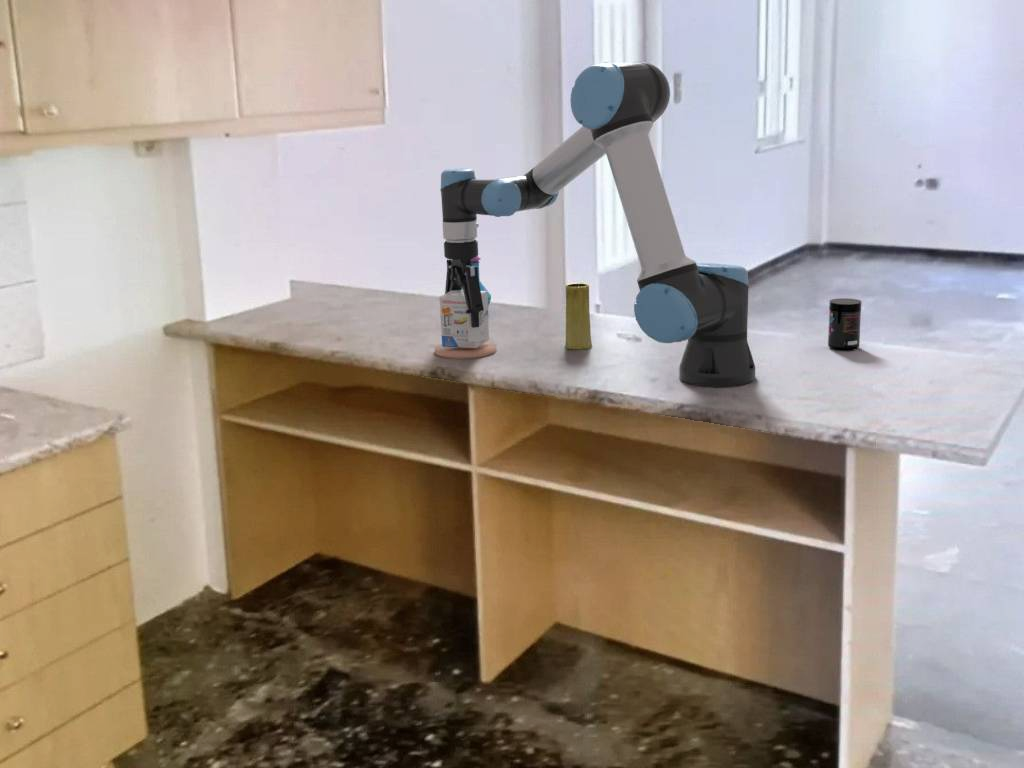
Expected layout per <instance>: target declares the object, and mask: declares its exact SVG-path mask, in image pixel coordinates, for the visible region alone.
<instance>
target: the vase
mask: <svg viewBox="0 0 1024 768" xmlns="http://www.w3.org/2000/svg"><path fill="white" fill-rule="evenodd" d="M591 334H592V333H591V316H590V285H589V284H588V283H584V282H577V283H576V282H574V283H573V282H572V283H567V284H566V285H565V345H564V347H565V349H567V350H573V351H574V350H575V351H582V350H588V349H591V348H592V347H593V343H592V335H591Z"/></svg>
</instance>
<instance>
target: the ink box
mask: <svg viewBox="0 0 1024 768" xmlns="http://www.w3.org/2000/svg"><path fill="white" fill-rule="evenodd" d="M488 292H489V291H488V290H487V291H481V296H482V302H483V307H484V310H483V311H481V312H480V332H481V341H475V342H468V325H467V314H466V311H467V310H468V307H467V303H466V299H465V295H464V292H463V290H452V291H450V292H448V293H446V294H445V293H444V294H442V295H440V296H439V311H440V326H441V327H440V330H441V331H440V332H441V344H442V347H463V348H477V347H478V346H480V345H482V344H483V343H485V342H486V341H488V342H489V340H490V331H489V306H488Z"/></svg>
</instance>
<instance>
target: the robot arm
mask: <svg viewBox="0 0 1024 768" xmlns="http://www.w3.org/2000/svg"><path fill="white" fill-rule="evenodd" d="M670 97H671V89H670V84H669V81H668V78H667V77H666V75H665V74H664V73H663V71H662V70H661V69H659V68H658V67H657V66H655V65H654V64H652V63H649V62H643V61H634V62H611V61H609V62H603V63H600V64H599V63H598V64H593V65H590V66H588V67H586V68H585V69H583V70H582V71H581V72H580V73H579V75H578V76H577V78H576V79H575V81H574V85H573V87H572V88H571V92H570V109H571V112H572V113H571V114H572V115H573V117H574V119H575V121H576V122H577V123H578V124H580V125H581V127H580V128H579V129H577V130H576V131H575V132H573V134H572V135H570V136H569V137H568V138H567V139H565V141H563V142H562V143H561V144H559V146H557V147H555V148H554V150H552V151H551V152H550V153H549V154H548V155H546V156H545V157H544V158H543V159H542V160H540V162H538V163H537V164H536V165H535V166H534V167H532V168H531V169H530V170H529V171H527V172H526V173H525V174H522V175H518V176H517V175H516V176H510V177H501V178H495V179H478V178H477V177H476V174H475V171H474V169H472V168H466V167H465V168H463V167H462V168H450V169H445V170H443V171H442V172H441V174H440V189H439V191H440V195H441V197H440V198H441V210H442V211H441V212H442V221H441V222H442V238H443V239H444V242H443V252H444V253H443V254H444V258H446V276H445V277H446V279H445V289H444V294H446V293H448V292H450V291H452V290H462V288H463V292H464V295H465V299H466V303H467V307H468V310H467V311H466V314H467V325H468V342H475V341H481V332H480V312H481V311H483V310H484V307H483V302H482V296H481V291H480V285H479V279H480V278H479V279H478V268H477V266H472V263H471V259H472V258H475V257H477V256H478V257H479V241H478V240H477V237H478V228H479V223H478V220H477V218H478V216H477V215H482V216H490V217H491V216H492V217H495V218H500V217H510V216H514V215H515V214H516V213H517V212H522V211H530V210H536V209H537V210H539V209H543V208H545V207H550V206H551V205H553V204H554V203H555V202H556V200H557V199H558V196H559V192H561V190H562V189H564V188H565V187H566V186H567V185H569V184H570V183H571V182H572V181H574V180H575V179H576V178H577V177H579V176H580V175H581V174H582V173H584V172H585V171H586V170H588V169H589V168H590V167H591V166H592V165H594V164H595V163H596V162H598V161H599V160H600V159H602V158H603V157H604V156H606V158H607V160H608V163H609V164H608V165H609V168H610V170H611V173H612V174H611V175H612V177H613V180H614V183H615V186H616V190H617V193H618V195H619V199H620V200H619V201H620V203H621V206H622V209H623V212H624V216H625V219H626V223H627V225H628V228H629V231H630V235H631V238H632V241H633V245H634V248H635V251H636V254H637V257H638V260H639V264H640V267H641V270H640V273H639V276H638V277H637V279H636V282H637V285H638V289H639V291H638V293H637V294H636V296H635V302H634V304H633V313H634V317H635V320H636V322H637V324H638V327H640V330H641V331H642V332H643V333H644V334H645V335H647V337H648V338H651V339H653V341H655V342H657V343H661V344H674V343H681V342H684V341H687V343H686V346H685V348H684V352H683V355H682V358H681V361H680V364H679V369H678V373H679V374H678V375H679V376H678V378H679V379H680V381H683V382H685V383H687V384H691V385H695V386H700V387H701V386H702V387H710V388H711V387H712V388H713V387H714V388H715V387H717V388H718V387H719V388H721V387H735V386H744V385H746V384H750V383H752V382H753V381H754V380H755V379H756V365H755V361H754V358H753V355H752V352H751V348H750V346H749V342H748V322H749V321H748V320H749V319H748V318H749V317H748V315H749V314H748V313H749V288H750V284H749V273H748V270H747V269H746V268H745V267H743V266H739V265H735V264H722V263H709V262H708V263H707V262H697V261H695V260H693V259H691V258H690V257H688V256H687V255H686V253H685V250H684V246H683V244H682V240H681V237H680V234H679V231H678V227H677V224H676V221H675V218H674V215H673V210H672V208H671V205H670V202H669V198H668V194H667V192H666V188H665V185H664V182H663V179H662V175H661V172H660V168H659V166H658V163H657V159H656V156H655V152H654V149H653V147H652V143H651V142H652V141H651V139H650V136H649V135H650V134H649V133H650V132H651V130H652V128H653V126H654V123H655V122H656V121H657V120H659V118H661V117H662V116H663V115H664V113H665V111H666V110H667V108H668V105H669V104H670Z"/></svg>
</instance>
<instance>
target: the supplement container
mask: <svg viewBox="0 0 1024 768" xmlns="http://www.w3.org/2000/svg"><path fill="white" fill-rule="evenodd" d="M862 302H863V301H862V300H860V299H856V298H833V299H830V300H829V305H828V306H829V307H828V312H829V315H828V334H827V335H828V336H827V337H828V338H827V345H828V347H829V349H830V350H834V351H839V352H840V351H841V352H850V351H851V352H852V351H856V350H858V348H859V347H860V341H861V340H860V339H861V321H862V320H861V319H862V317H861V315H862Z"/></svg>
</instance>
